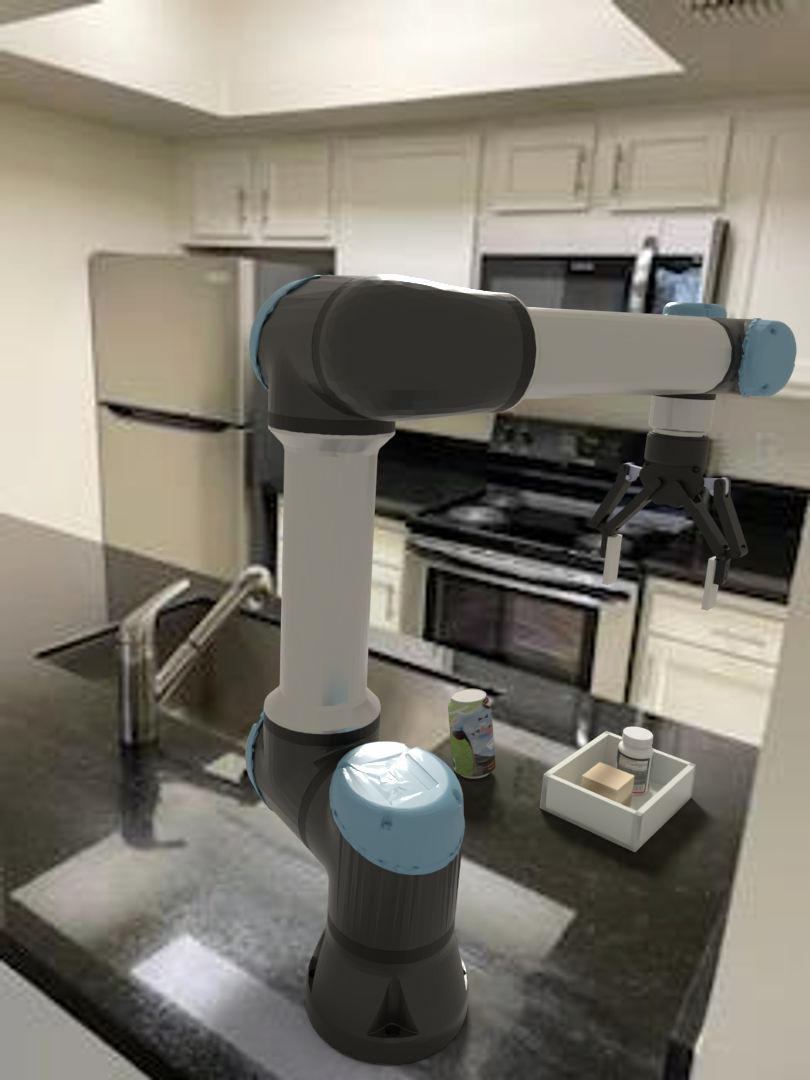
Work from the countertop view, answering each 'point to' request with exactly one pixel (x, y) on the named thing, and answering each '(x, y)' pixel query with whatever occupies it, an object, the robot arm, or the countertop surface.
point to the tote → (607, 816)
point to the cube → (609, 783)
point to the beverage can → (471, 733)
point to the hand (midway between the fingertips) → (656, 594)
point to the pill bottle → (636, 757)
